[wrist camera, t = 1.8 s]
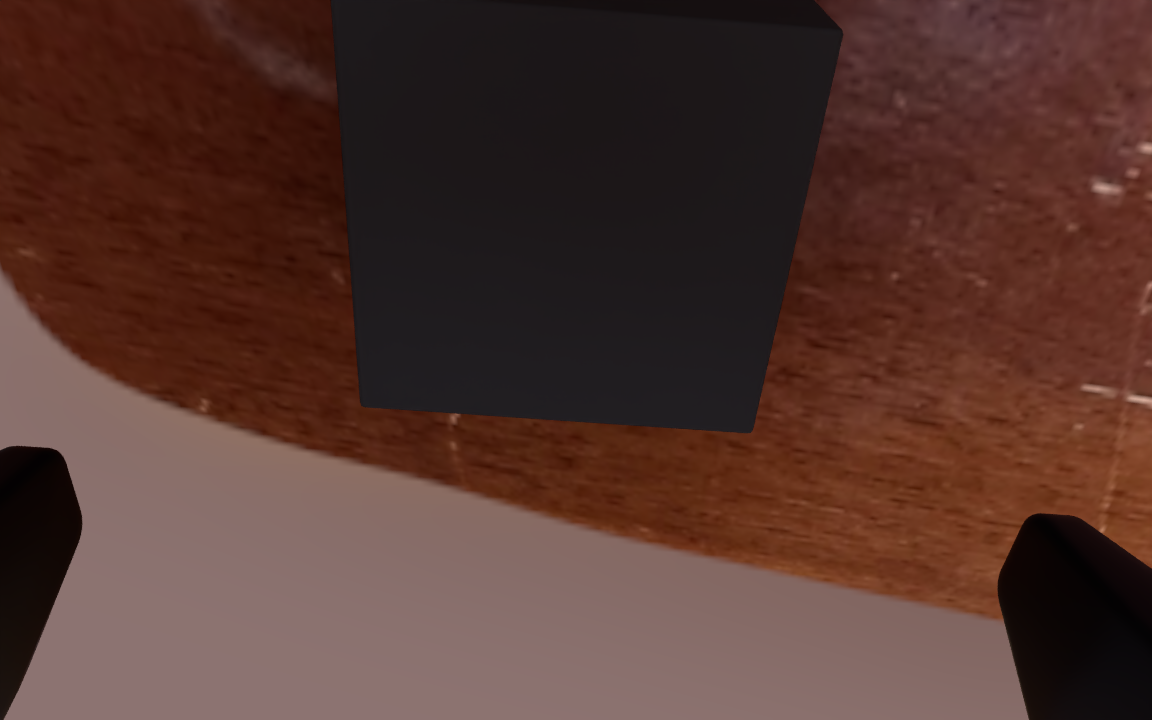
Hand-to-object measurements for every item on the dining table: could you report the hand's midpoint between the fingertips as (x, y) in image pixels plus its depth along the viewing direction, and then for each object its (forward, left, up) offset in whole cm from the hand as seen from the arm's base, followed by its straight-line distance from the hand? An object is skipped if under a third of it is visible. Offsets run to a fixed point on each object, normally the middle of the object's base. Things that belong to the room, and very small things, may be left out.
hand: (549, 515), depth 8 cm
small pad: (0, 0, -9) cm, 9 cm away
